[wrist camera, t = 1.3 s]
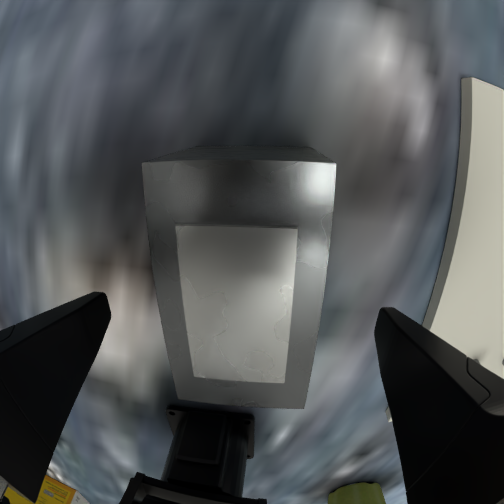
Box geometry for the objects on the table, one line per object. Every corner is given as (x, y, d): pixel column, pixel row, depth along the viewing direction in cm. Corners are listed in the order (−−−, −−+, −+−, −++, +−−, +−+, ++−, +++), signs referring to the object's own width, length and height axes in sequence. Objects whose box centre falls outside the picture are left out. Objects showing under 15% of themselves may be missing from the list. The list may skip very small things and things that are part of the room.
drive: (298, 321, 16) (304, 411, 11) (207, 316, 17) (177, 401, 11) (311, 147, 13) (337, 164, 7) (197, 146, 13) (139, 163, 7)
